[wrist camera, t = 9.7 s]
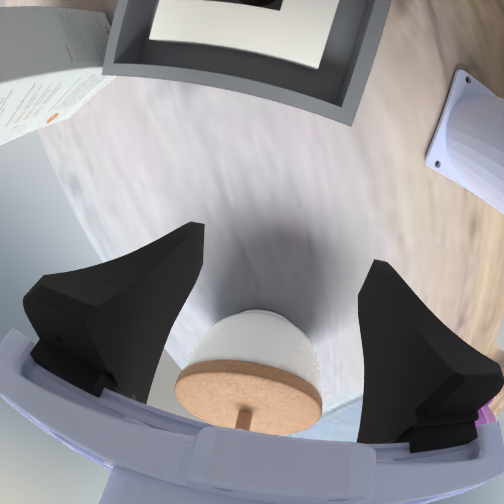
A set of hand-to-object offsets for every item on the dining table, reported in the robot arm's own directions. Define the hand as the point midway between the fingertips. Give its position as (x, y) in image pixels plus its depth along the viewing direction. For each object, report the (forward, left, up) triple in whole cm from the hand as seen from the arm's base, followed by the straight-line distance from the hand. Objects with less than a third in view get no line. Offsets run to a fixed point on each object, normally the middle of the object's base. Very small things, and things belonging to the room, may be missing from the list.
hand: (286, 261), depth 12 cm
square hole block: (+6, -13, -9) cm, 17 cm away
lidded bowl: (-2, +16, -10) cm, 19 cm away
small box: (+19, -6, -10) cm, 22 cm away
